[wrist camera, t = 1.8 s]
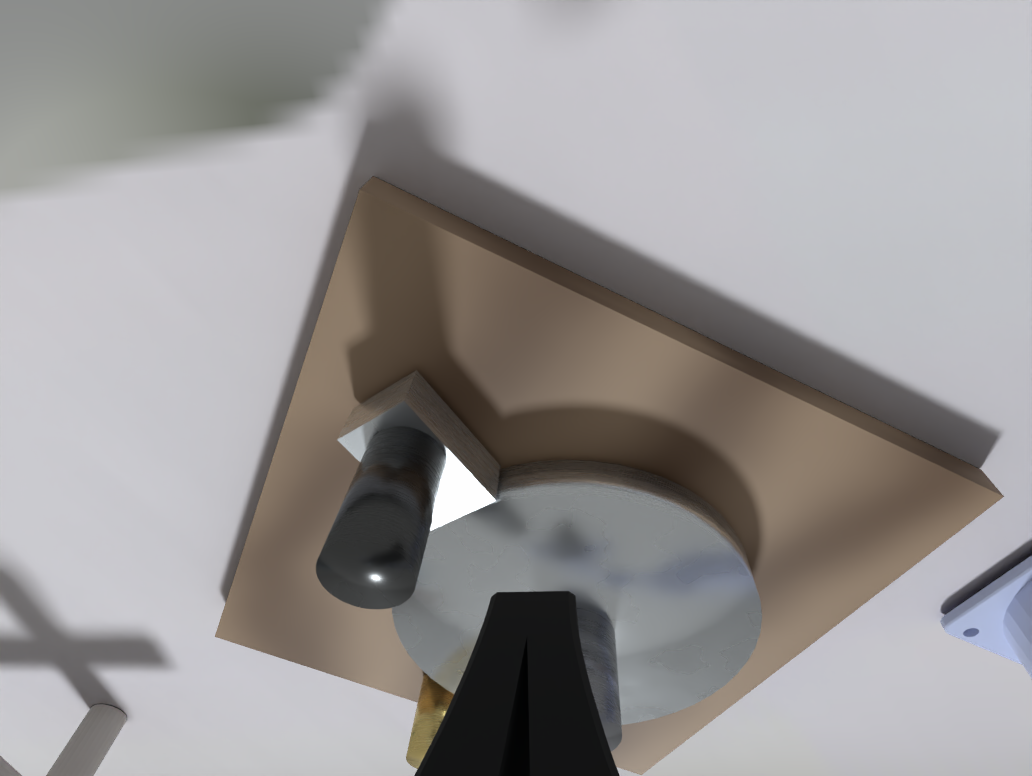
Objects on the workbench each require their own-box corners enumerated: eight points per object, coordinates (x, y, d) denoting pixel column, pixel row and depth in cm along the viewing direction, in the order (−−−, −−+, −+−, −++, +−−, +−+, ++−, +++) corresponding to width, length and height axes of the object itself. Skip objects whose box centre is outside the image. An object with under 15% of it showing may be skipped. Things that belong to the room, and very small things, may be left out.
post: (631, 625, 20) (641, 726, 17) (588, 669, 21) (591, 768, 18) (553, 596, 19) (550, 696, 16) (515, 643, 21) (507, 741, 18)
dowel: (467, 675, 25) (455, 757, 22) (453, 694, 26) (439, 775, 23) (431, 663, 25) (414, 745, 22) (417, 682, 26) (400, 763, 23)
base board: (980, 469, 19) (1003, 496, 18) (639, 748, 30) (641, 774, 29) (373, 176, 15) (359, 189, 14) (228, 611, 26) (214, 636, 25)
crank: (805, 634, 22) (867, 807, 17) (526, 717, 26) (516, 873, 22) (564, 281, 15) (562, 411, 11) (243, 473, 20) (144, 623, 15)
